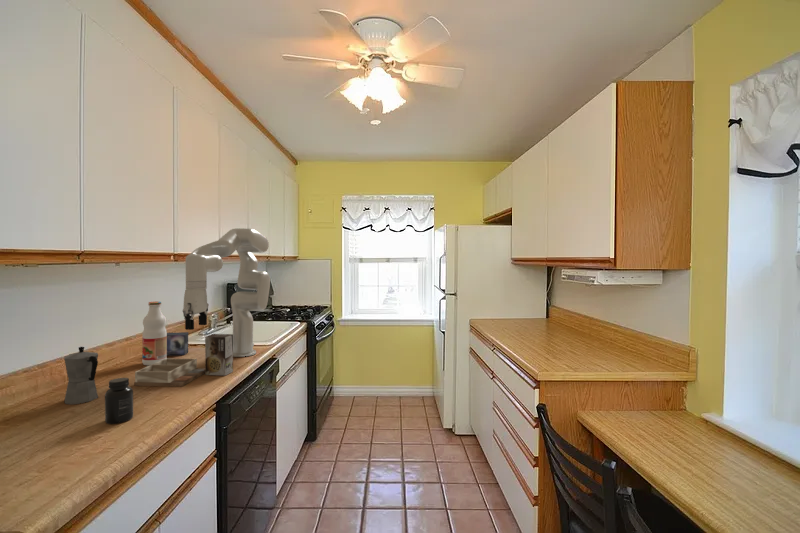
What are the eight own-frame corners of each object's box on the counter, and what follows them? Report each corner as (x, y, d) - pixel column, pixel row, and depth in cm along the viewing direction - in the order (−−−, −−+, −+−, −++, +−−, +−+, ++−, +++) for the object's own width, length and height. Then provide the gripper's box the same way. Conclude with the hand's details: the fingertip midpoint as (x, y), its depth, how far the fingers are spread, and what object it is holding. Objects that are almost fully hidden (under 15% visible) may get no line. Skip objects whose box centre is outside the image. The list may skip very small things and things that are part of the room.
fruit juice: (167, 364, 174) (167, 302, 174) (142, 366, 169) (142, 303, 169) (166, 359, 182) (166, 300, 182) (142, 361, 177) (142, 301, 177)
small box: (160, 356, 187) (160, 335, 187) (165, 353, 194) (165, 332, 194) (184, 355, 190) (184, 334, 189) (188, 352, 196) (188, 332, 196)
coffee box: (233, 371, 165) (233, 334, 164) (225, 376, 158) (225, 337, 158) (213, 370, 166) (213, 333, 165) (204, 375, 159) (204, 336, 159)
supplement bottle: (134, 413, 120) (135, 375, 119) (131, 422, 113) (131, 381, 113) (107, 417, 116) (107, 378, 116) (102, 426, 110) (102, 384, 110)
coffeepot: (54, 400, 129) (53, 347, 128) (86, 392, 137) (86, 342, 137) (79, 409, 122) (79, 352, 122) (112, 399, 131) (112, 346, 130)
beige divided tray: (166, 370, 165) (166, 358, 165) (208, 370, 165) (208, 358, 165) (134, 385, 145) (134, 372, 145) (182, 386, 145) (182, 372, 145)
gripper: (198, 283, 164) (198, 323, 165) (174, 286, 147) (174, 331, 147) (216, 283, 164) (216, 323, 165) (193, 287, 147) (193, 331, 147)
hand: (196, 327), depth 156 cm, fingers open, 9 cm apart
